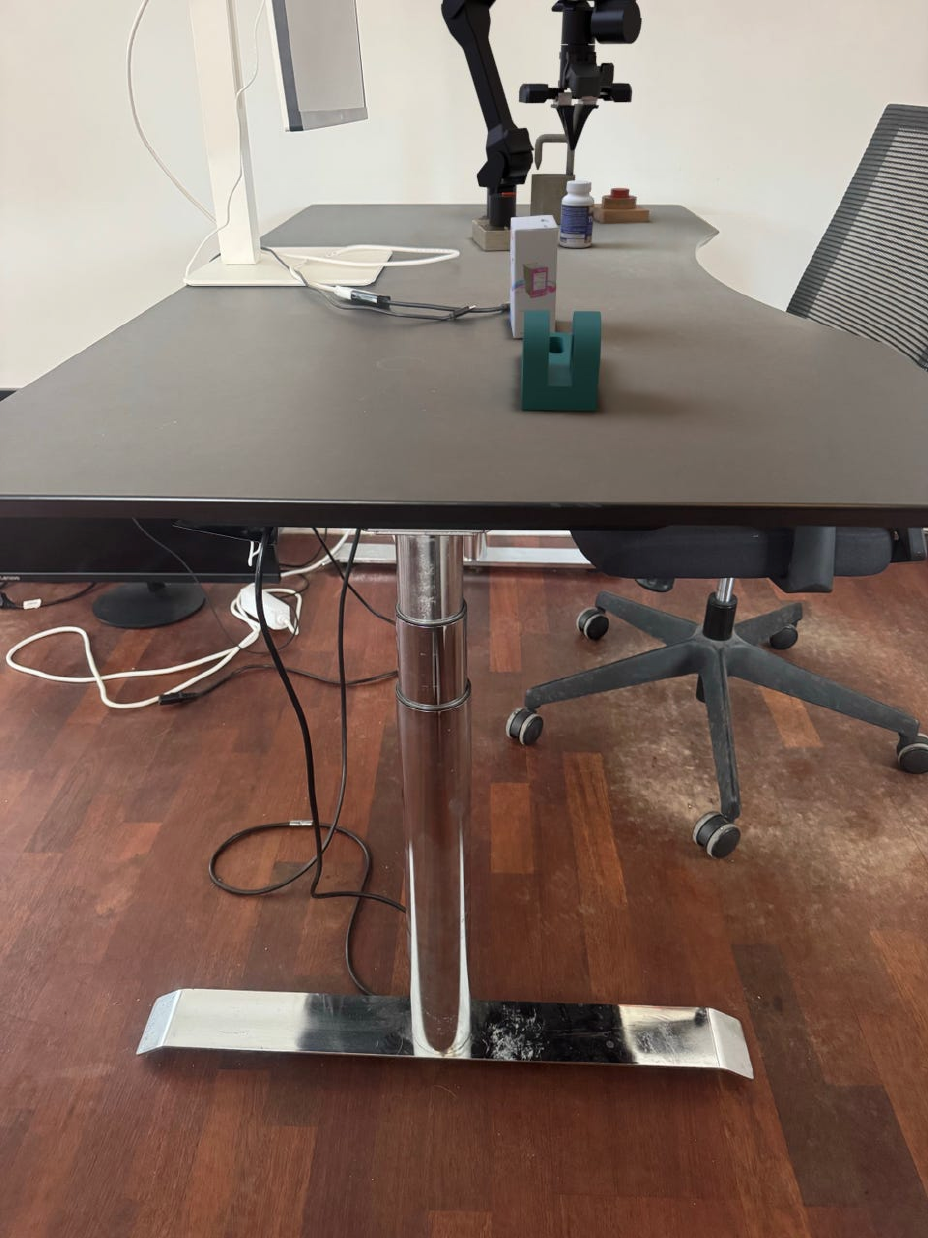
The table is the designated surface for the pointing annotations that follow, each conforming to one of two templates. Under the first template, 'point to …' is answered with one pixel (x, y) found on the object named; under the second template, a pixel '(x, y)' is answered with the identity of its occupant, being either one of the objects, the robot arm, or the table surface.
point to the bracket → (560, 362)
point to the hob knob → (501, 209)
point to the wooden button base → (620, 210)
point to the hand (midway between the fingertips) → (572, 150)
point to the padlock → (550, 181)
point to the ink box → (532, 268)
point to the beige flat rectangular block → (491, 235)
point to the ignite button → (619, 193)
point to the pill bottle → (577, 215)
